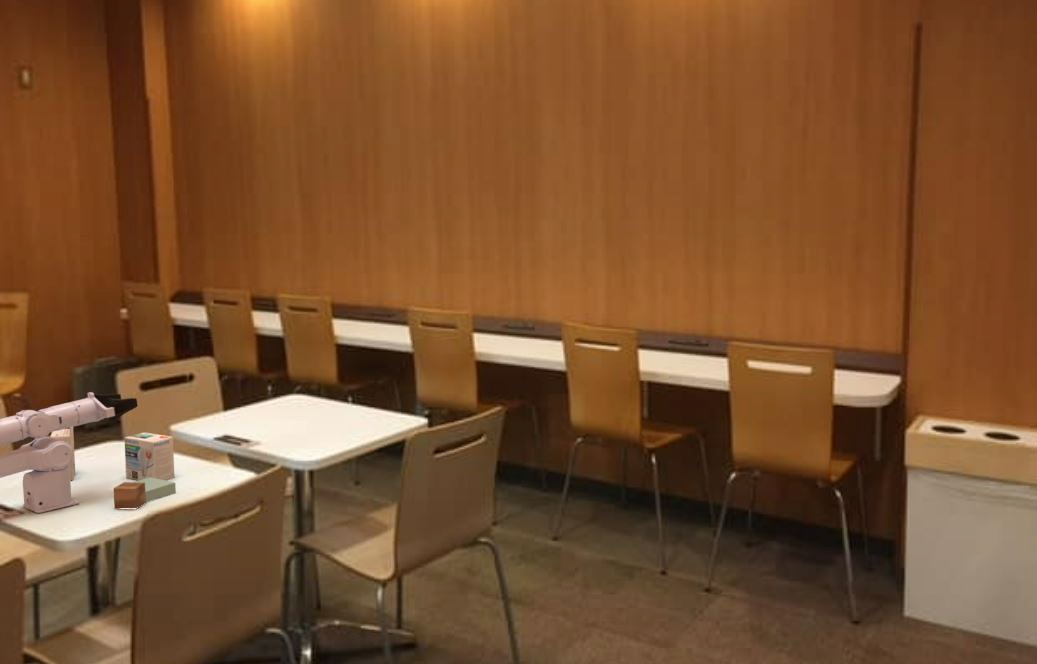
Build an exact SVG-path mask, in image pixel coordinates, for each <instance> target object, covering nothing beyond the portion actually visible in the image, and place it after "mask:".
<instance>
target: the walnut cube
mask: <svg viewBox="0 0 1037 664" xmlns="http://www.w3.org/2000/svg"><path fill="white" fill-rule="evenodd" d="M113 501H114V502H113V503H114V507H113V508H114V509H115V508H137V507H139V506H141V505H142V506H143V504H144V503H145V504H147V502H146V492H145V483H142V482H135V481H131V482H130V481H124V482H122V483H119V484H118V485H117V486H115V487H114V488H113ZM145 504H144V505H145ZM142 506H141V507H142ZM139 508H140V507H139Z"/></svg>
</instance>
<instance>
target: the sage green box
mask: <svg viewBox="0 0 1037 664" xmlns="http://www.w3.org/2000/svg"><path fill="white" fill-rule="evenodd" d="M134 482H142V483H145V492H146V503H148V502H147V501H149V502H151V501H150V500H152V501H155V500H158V499H161V498H164V497H168V496H170V495H174V494H176V493H177V492H176V488H177V487H176V482H175V481H170V480H169V481H168V480H161V479H156V478H152V477H149V478H146V479H142V480H135V481H134ZM154 499H155V500H154Z"/></svg>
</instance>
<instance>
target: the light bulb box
mask: <svg viewBox="0 0 1037 664" xmlns="http://www.w3.org/2000/svg"><path fill="white" fill-rule="evenodd" d="M124 456H125V457H124V459H125V478H126V479H130V480H135V481H139V480H142V479H146V478H149V477H152V478H156V479H161V480H166V481H168V480H171V479H174V478H175V477H176V476H175V459H174V458H175V453H174V437H173V436H169V435H163V434H157V433H150V432H145V431H144V432H141V433H137V434H133V435H129V436H126V437H124Z"/></svg>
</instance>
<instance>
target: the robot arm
mask: <svg viewBox="0 0 1037 664" xmlns="http://www.w3.org/2000/svg"><path fill="white" fill-rule="evenodd" d="M137 399H138V398H135V397H127V398H122V395H121V394H120V393H113V394H109V393H108V394H99V393H94V392H92V391H91V392H90V391H89V392H87V393H86V397H85V398H82V399H78V400H73V401H70V402H65V403H61V404H56V405H53V406H52V405H51V406H49V407H47V408H42V409H39V410H37V411H36V410H33V409H23V410H21V411H19V412H15V415H12V416H11V415H10V416H7V417H3V418H0V446H4V445H7V444H12V443H17V442H19V441H23V440H24V439H26V438H29V437H30V438H33V439H34V440H32V441H31V442H29V443H27V444H23V445H21V446H20V447H19V448H18V449H14V450H10V451H5V452H3V453H0V479H1V478H5V477H8V476H11V475H14V474H15V475H16V474H20V473H21V472H25V471H28V472H25V473H24V474H23V476H22V477H23V478H22V489H23V490H22V491H23V504H22V506H23V508H26V509H28V510H30V511H32V512H35V513H37V514H39V513H40V514H41V513H44V512H49V511H54V510H57V509H58V510H59V509H62V508H66V507H71V506H74V505H79V504H80V501H78V500H76V499H74V498H73V497H72V486H71V481H70V466H69V464H70V463H71V461H72V459H73V456H74V455H75V450H74V451H73V448H72V446H71V445H70V444H68V443H67V442H63V441H59V440H56V439H53V438H52V437H51V436H50V435H49V434H50V433H52V432H53V431H58V430H62V429H70V427H73V428H74V427H76V426H77V427H79V426H81V425H84V424H88V423H89V424H90V423H96V422H99V421H101V420H104V419H105V418H106V419H108V421H109V422H112V423H113V422H116V421H118V420H119V419H120V418H121V417H122V416H124V415H125V414H126V413H128V412H130V411H132V410H134V409H136V408H137V407H138V406H139V405H138V400H137Z"/></svg>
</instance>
